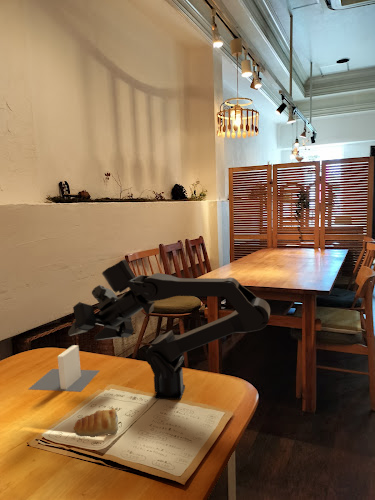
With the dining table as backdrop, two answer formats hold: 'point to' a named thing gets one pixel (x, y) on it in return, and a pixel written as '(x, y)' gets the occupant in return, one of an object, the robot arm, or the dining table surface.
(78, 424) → the pastry
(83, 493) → the dining table surface
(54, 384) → the mat
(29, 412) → the dining table surface
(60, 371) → the tile
